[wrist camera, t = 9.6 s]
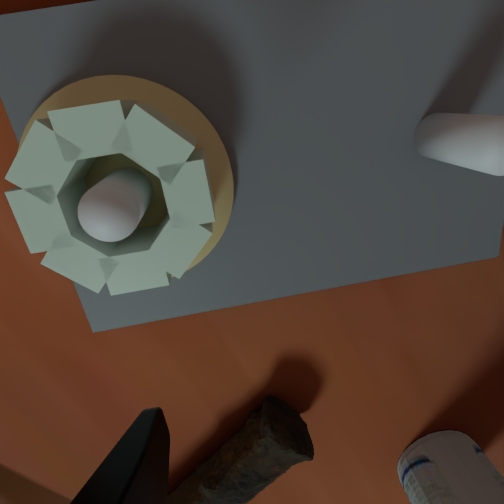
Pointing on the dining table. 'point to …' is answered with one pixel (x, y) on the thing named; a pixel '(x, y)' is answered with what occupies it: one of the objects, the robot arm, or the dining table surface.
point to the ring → (74, 187)
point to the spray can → (449, 471)
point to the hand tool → (249, 458)
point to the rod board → (283, 135)
